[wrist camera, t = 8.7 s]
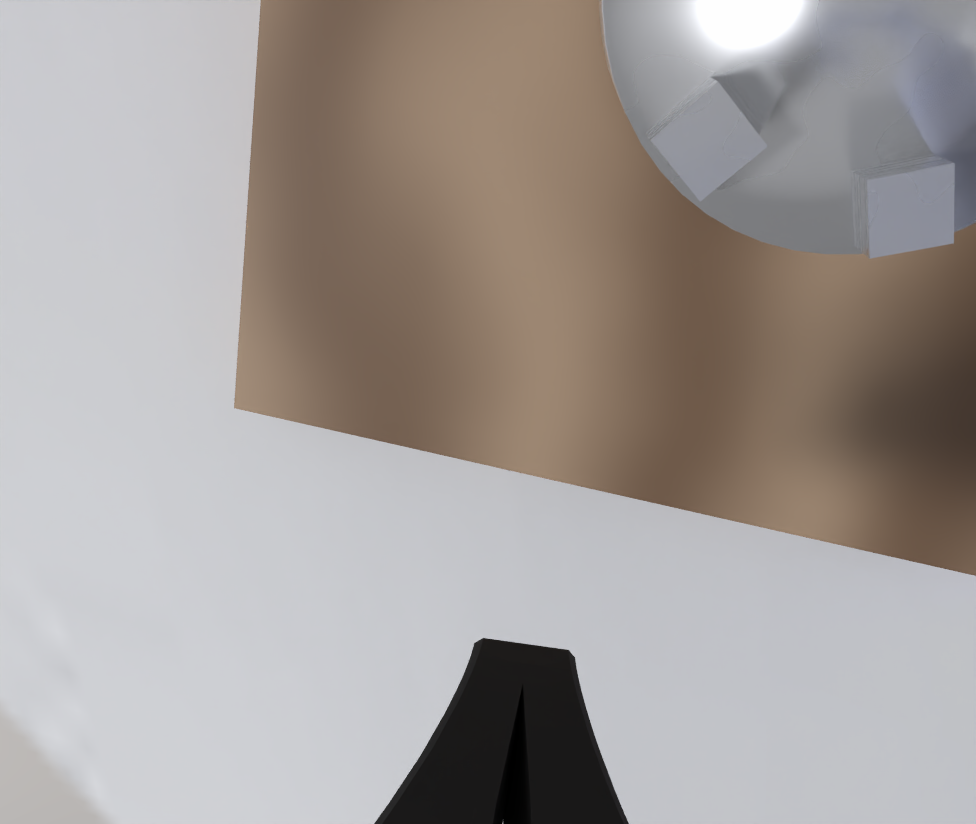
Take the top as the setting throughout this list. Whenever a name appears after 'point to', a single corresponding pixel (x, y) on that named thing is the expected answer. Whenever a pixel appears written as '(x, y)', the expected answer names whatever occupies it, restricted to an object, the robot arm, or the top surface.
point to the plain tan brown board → (580, 289)
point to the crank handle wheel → (807, 114)
